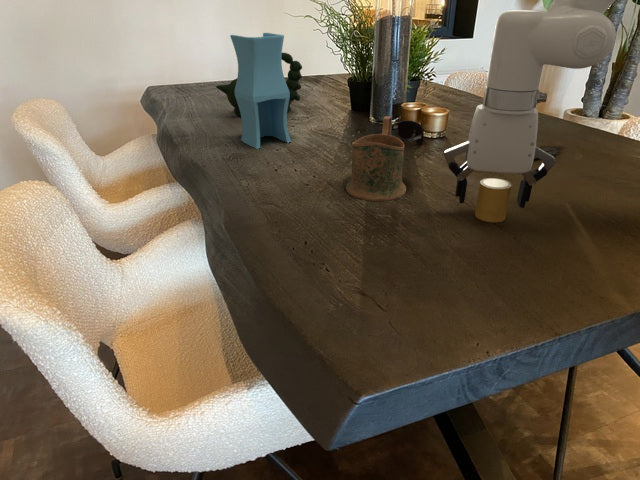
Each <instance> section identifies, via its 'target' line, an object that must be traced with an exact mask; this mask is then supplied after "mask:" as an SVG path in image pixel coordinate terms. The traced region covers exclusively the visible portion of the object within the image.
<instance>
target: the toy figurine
mask: <svg viewBox="0 0 640 480" xmlns="http://www.w3.org/2000/svg"><path fill="white" fill-rule="evenodd" d="M281 60H282V61H283V62H285V63H286V64H288V65H289V70H288V72H287V79H286V80H285V81H286V84H287V87H288V89H289V92H290V99H289V104H288V109H287V113H290V112H291V111H292V107H291V104H292V102H294V101H297V102H299V101H300V100H301V96H300V94H299V93H298V91H299V90H301V89H302V85H301V83H300V80H301V79H302V78H303V76H302V73H301V70H303V66H302V64H301V63H300V61H298V60H294V58H293V56H292V55H291V54H290V53H287V52H282V58H281ZM236 83H237V78H234V79H233V80H231V81H230V83H228V84H219V85H216V86H215V88H217V89H218V90H219V91H221V92H222V93H223V94H225V95H226V98H227V101H228V103H229V104H230V105H231V106H232V107H233V113H234V115H235V116H237V117H241V113H240V110H239V106H238V103H237V100H236V97H235V87H236Z"/></svg>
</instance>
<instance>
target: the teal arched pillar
mask: <svg viewBox="0 0 640 480" xmlns="http://www.w3.org/2000/svg"><path fill="white" fill-rule="evenodd" d="M229 37H230V39H231V42H232V45H233V48H234V50H235V51H234V52H235V55H236V56H235V57H236V61H237V83H236V87H235V97H236V100H237V103H238V106H239V110H240V113H241V116H240V118H241V142H242V141H243V142H242V143H244V144H246V145H247V146H250V147H252V148H253V147H254V149H255V148H256V149H255V150H260V149H261V138H264V136H273V137H274V138H275V137H276V138H275V139H277V138H278V140H280V141H282V142H284V141H285V142H284V143H286V142H287V143H286V144H290V143H289V142H291V143H292V140H291V137H290V132H289V128H288V112H287V109H288V104H289V99H290V92H289V89H288V87H287V84H286V81H287V80H286V79H285V76H284V73H283V72H284V71H283V64H282V61H283V60H281V58H282V53H283V46H284V40H285V35H284V34H279V33H272V32H263V33H262V36H242V35H237V34H230V35H229ZM259 148H260V149H259Z"/></svg>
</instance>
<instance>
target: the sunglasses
mask: <svg viewBox="0 0 640 480" xmlns="http://www.w3.org/2000/svg"><path fill="white" fill-rule="evenodd" d="M395 130H397V134H398V137H400V138H401V139H400V140H401V141H402V142H403V143H404V142H408V143H412V142H415V141H416V145H417V146H423V143H424V139H425V129H424V126H423V125H422V124H421V123H419V122H417V121H414V120H409V119H408V120H401V121H400V122H399V123H396V124H394V125H392V127H391V132H392V131H395ZM381 133H382V129H381V130H378V131H376V132H374V133H373V134H381ZM413 135H414V136H413Z"/></svg>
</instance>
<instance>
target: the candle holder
mask: <svg viewBox="0 0 640 480" xmlns="http://www.w3.org/2000/svg"><path fill="white" fill-rule="evenodd" d="M478 185H479V186H478V192H477V199H476V205H475V210H474V211H475V212H474V216H475V217H476V218H477V220H479V221H482V222H487V223H501V222H504V221H505V220H506V217H507V212H508V207H509V201H510V197H511V196H510V195H511V191H512V182H510V181H508V180H505V179H502V178H497V177H495V178H494V177H490V178H489V177H488V178H483V179H481V180H480V181H479V184H478Z"/></svg>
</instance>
